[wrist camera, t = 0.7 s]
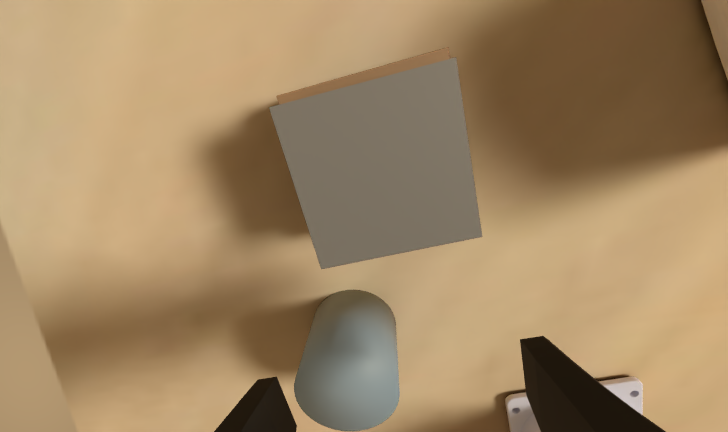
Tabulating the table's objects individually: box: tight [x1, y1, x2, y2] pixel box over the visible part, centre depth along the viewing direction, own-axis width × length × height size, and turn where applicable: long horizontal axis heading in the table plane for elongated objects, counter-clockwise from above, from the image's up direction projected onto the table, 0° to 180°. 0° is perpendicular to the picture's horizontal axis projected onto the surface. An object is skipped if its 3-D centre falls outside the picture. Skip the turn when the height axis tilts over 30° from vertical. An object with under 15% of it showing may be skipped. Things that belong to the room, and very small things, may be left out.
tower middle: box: [269, 57, 482, 269], centre depth 13 cm, size 6×6×3 cm
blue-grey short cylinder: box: [294, 290, 399, 431], centre depth 19 cm, size 5×5×5 cm
